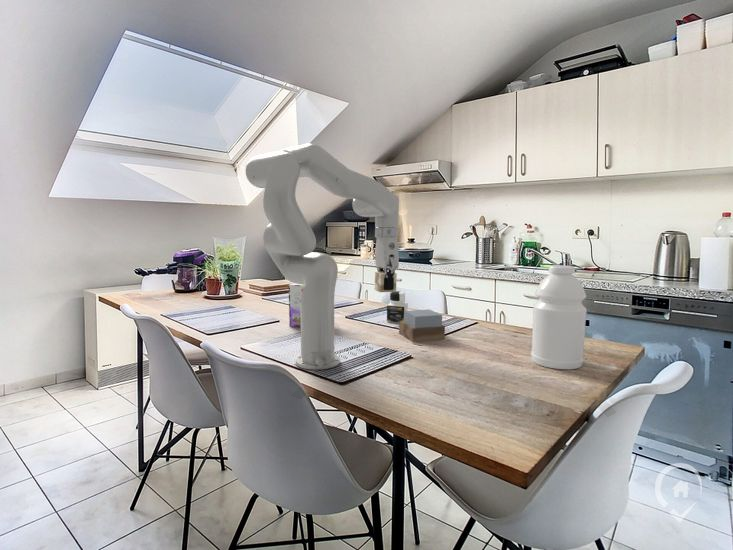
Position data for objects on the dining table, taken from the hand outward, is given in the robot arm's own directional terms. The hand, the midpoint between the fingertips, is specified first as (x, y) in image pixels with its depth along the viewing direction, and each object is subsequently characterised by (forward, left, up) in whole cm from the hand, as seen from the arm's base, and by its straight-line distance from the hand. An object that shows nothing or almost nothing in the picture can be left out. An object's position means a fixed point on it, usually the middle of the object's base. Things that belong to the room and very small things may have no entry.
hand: (385, 288), depth 146 cm
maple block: (0, 0, -1) cm, 1 cm away
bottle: (-34, -40, -19) cm, 56 cm away
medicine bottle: (+29, -16, -19) cm, 38 cm away
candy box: (+32, +20, -19) cm, 42 cm away
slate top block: (+4, -16, -14) cm, 21 cm away
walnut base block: (+4, -15, -19) cm, 25 cm away
